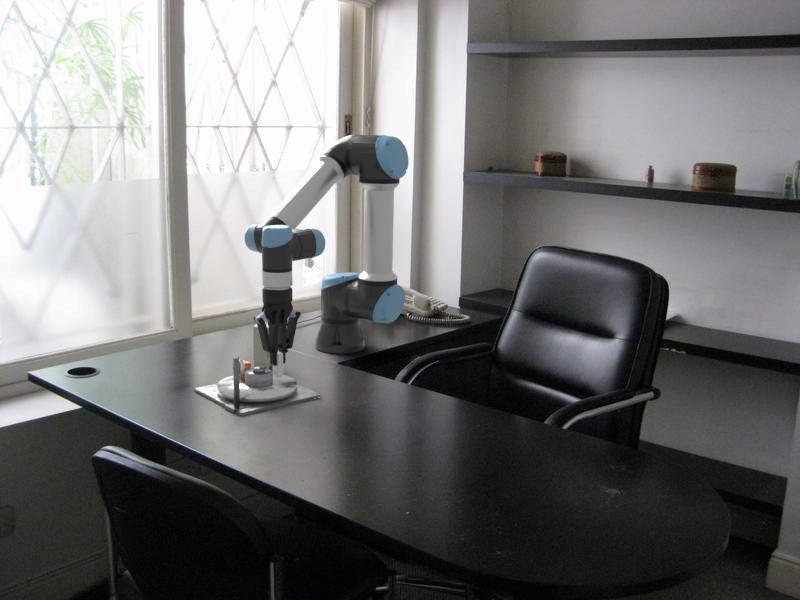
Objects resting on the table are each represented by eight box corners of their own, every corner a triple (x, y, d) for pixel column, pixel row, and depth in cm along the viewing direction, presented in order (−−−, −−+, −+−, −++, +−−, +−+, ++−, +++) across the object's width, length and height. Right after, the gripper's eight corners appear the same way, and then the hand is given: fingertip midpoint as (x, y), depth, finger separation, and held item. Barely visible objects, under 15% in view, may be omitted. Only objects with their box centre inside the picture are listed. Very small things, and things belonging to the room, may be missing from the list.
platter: (269, 372, 231) (269, 353, 230) (312, 391, 216) (312, 371, 215) (202, 386, 218) (202, 366, 217) (243, 407, 203) (243, 385, 202)
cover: (263, 377, 222) (263, 362, 221) (278, 384, 217) (278, 368, 216) (239, 382, 217) (239, 366, 216) (254, 389, 212) (254, 373, 211)
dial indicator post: (236, 404, 210) (236, 353, 207) (248, 410, 206) (247, 358, 203) (222, 407, 207) (221, 355, 204) (233, 413, 203) (233, 361, 200)
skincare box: (268, 370, 238) (268, 327, 235) (253, 369, 238) (252, 327, 235) (272, 363, 244) (272, 322, 242) (257, 363, 244) (257, 321, 242)
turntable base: (271, 375, 233) (271, 371, 233) (320, 397, 216) (320, 393, 216) (194, 391, 218) (194, 387, 218) (241, 416, 201) (240, 411, 201)
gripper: (290, 281, 222) (291, 368, 228) (247, 287, 214) (248, 377, 219) (307, 286, 217) (307, 375, 222) (262, 292, 209) (263, 384, 214)
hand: (277, 376), depth 221 cm, fingers closed
